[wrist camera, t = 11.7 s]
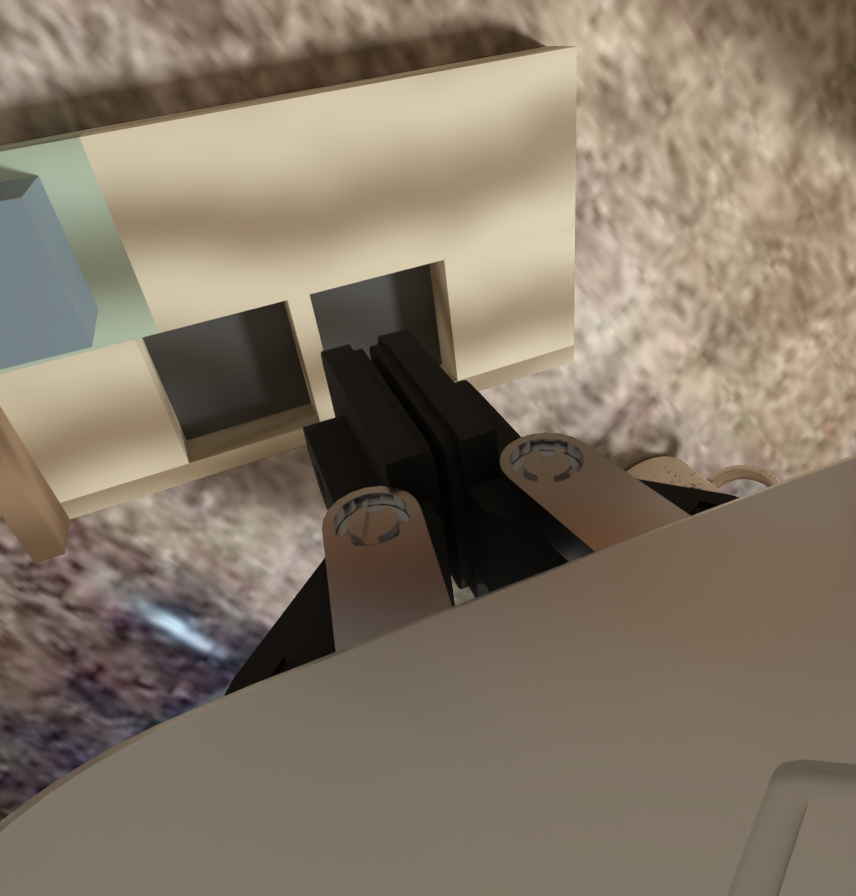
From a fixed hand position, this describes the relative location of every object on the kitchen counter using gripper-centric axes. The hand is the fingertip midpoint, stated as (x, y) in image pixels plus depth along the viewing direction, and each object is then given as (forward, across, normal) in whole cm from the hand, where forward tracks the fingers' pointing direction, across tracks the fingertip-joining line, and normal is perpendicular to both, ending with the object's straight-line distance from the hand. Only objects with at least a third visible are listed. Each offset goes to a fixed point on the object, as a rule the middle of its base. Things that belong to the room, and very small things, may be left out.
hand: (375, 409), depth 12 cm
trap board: (+19, -1, +4) cm, 20 cm away
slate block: (+17, +10, 0) cm, 19 cm away
